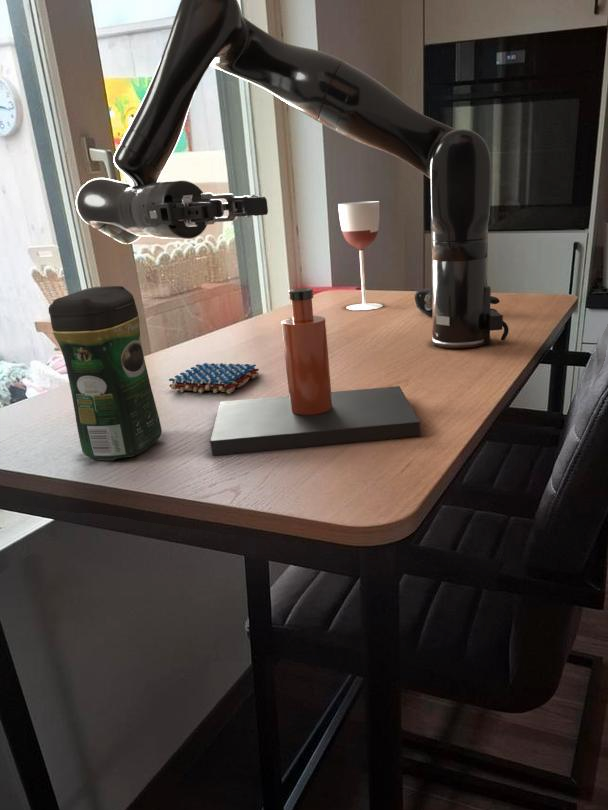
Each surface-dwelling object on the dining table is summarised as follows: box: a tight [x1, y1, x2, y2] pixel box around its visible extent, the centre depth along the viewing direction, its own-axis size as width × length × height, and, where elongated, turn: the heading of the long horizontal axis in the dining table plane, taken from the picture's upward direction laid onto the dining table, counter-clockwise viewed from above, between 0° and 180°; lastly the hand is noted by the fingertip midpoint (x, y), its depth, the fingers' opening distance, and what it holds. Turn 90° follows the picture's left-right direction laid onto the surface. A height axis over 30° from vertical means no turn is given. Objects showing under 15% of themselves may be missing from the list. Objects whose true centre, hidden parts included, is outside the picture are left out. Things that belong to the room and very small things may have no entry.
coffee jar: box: [48, 285, 163, 461], centre depth 80 cm, size 10×8×19 cm
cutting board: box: [209, 385, 421, 456], centre depth 87 cm, size 24×15×2 cm, turn 96°
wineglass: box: [337, 200, 384, 311], centre depth 155 cm, size 9×10×22 cm
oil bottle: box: [281, 287, 332, 415], centre depth 84 cm, size 5×5×14 cm
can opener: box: [414, 288, 501, 317], centre depth 143 cm, size 18×7×6 cm, turn 67°
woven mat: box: [168, 362, 260, 395], centre depth 107 cm, size 10×11×2 cm
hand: (239, 208), depth 88 cm, fingers open, 8 cm apart
